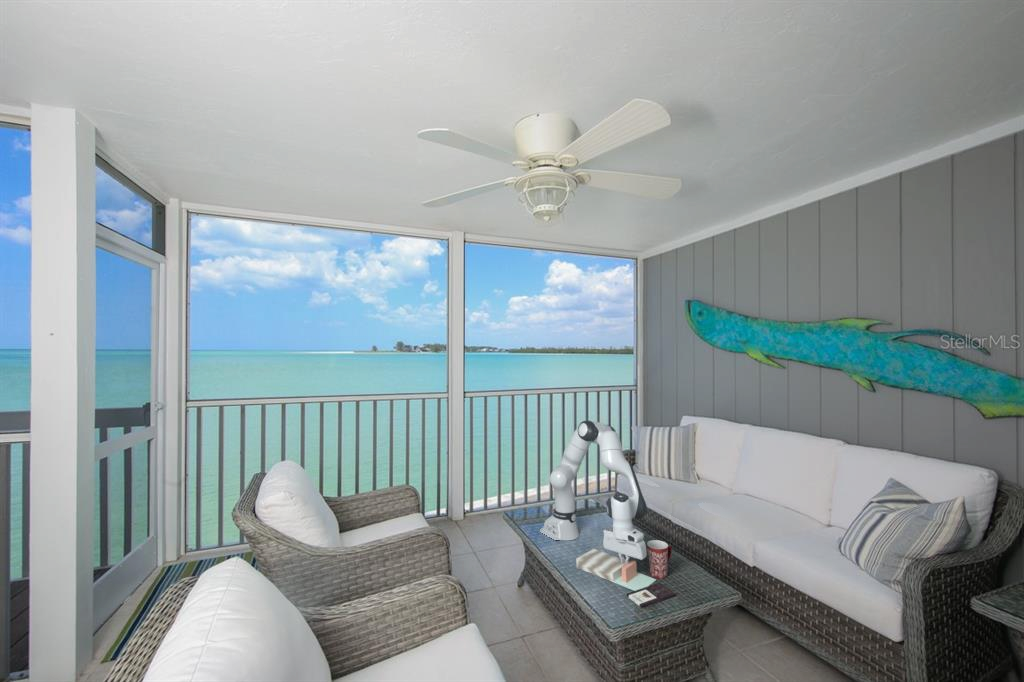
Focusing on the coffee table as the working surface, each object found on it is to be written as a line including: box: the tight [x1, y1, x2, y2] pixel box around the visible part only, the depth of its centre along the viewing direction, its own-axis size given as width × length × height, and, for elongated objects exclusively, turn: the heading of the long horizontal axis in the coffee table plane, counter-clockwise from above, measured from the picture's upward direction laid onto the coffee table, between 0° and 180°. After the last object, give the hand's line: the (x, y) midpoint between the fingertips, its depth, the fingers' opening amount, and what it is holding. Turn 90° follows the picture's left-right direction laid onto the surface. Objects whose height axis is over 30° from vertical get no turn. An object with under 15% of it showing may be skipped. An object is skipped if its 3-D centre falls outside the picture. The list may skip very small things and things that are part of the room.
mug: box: [646, 539, 673, 579], centre depth 198 cm, size 13×9×14 cm
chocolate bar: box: [626, 582, 677, 609], centre depth 179 cm, size 9×1×18 cm
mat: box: [610, 571, 657, 591], centre depth 192 cm, size 14×14×1 cm
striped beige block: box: [575, 548, 626, 582], centre depth 203 cm, size 20×14×4 cm
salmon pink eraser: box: [622, 560, 638, 583], centre depth 194 cm, size 6×9×2 cm
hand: (625, 563), depth 195 cm, fingers closed
